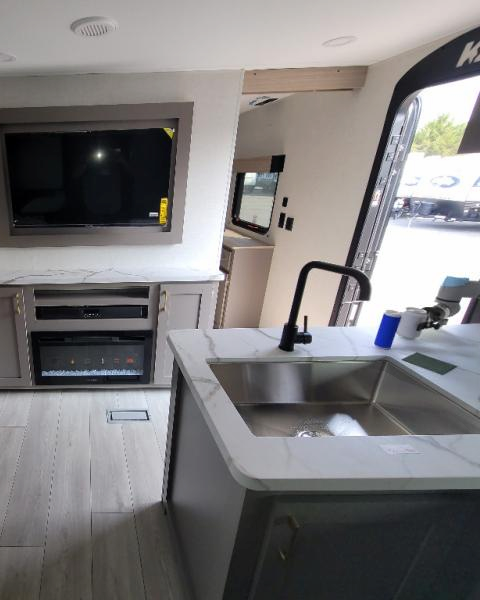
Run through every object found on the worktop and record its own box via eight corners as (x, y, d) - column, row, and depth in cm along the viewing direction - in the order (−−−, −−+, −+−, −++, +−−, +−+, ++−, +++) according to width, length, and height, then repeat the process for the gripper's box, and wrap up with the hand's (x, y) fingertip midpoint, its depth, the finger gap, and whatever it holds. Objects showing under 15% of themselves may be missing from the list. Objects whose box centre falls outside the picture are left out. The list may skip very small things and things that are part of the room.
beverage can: (387, 344, 131) (399, 310, 126) (392, 350, 127) (405, 315, 122) (371, 342, 133) (382, 308, 128) (376, 348, 129) (387, 313, 124)
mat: (456, 366, 116) (457, 365, 116) (441, 374, 112) (442, 373, 111) (416, 352, 125) (416, 352, 125) (401, 359, 121) (401, 359, 121)
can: (400, 338, 134) (410, 312, 130) (390, 330, 141) (399, 305, 137) (423, 340, 132) (433, 313, 128) (412, 332, 139) (421, 306, 135)
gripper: (462, 330, 134) (435, 342, 125) (400, 313, 151) (373, 323, 142) (470, 313, 131) (442, 325, 122) (405, 298, 149) (378, 307, 140)
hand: (405, 324), depth 132 cm, fingers closed on can, 7 cm apart
